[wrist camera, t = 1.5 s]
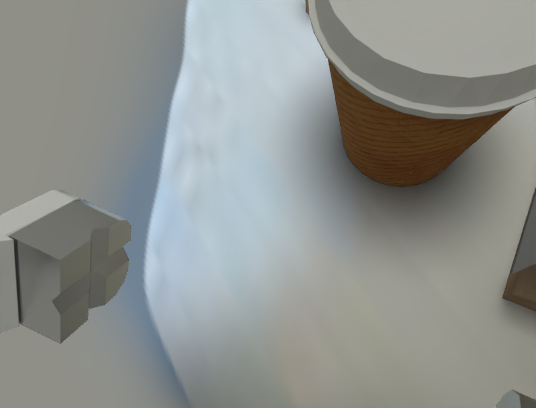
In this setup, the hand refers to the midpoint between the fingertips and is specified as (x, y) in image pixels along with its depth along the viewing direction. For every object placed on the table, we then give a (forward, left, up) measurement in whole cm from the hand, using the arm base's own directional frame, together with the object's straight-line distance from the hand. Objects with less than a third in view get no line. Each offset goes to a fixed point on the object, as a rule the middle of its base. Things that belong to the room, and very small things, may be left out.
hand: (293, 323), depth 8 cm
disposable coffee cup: (-7, -10, -16) cm, 20 cm away
